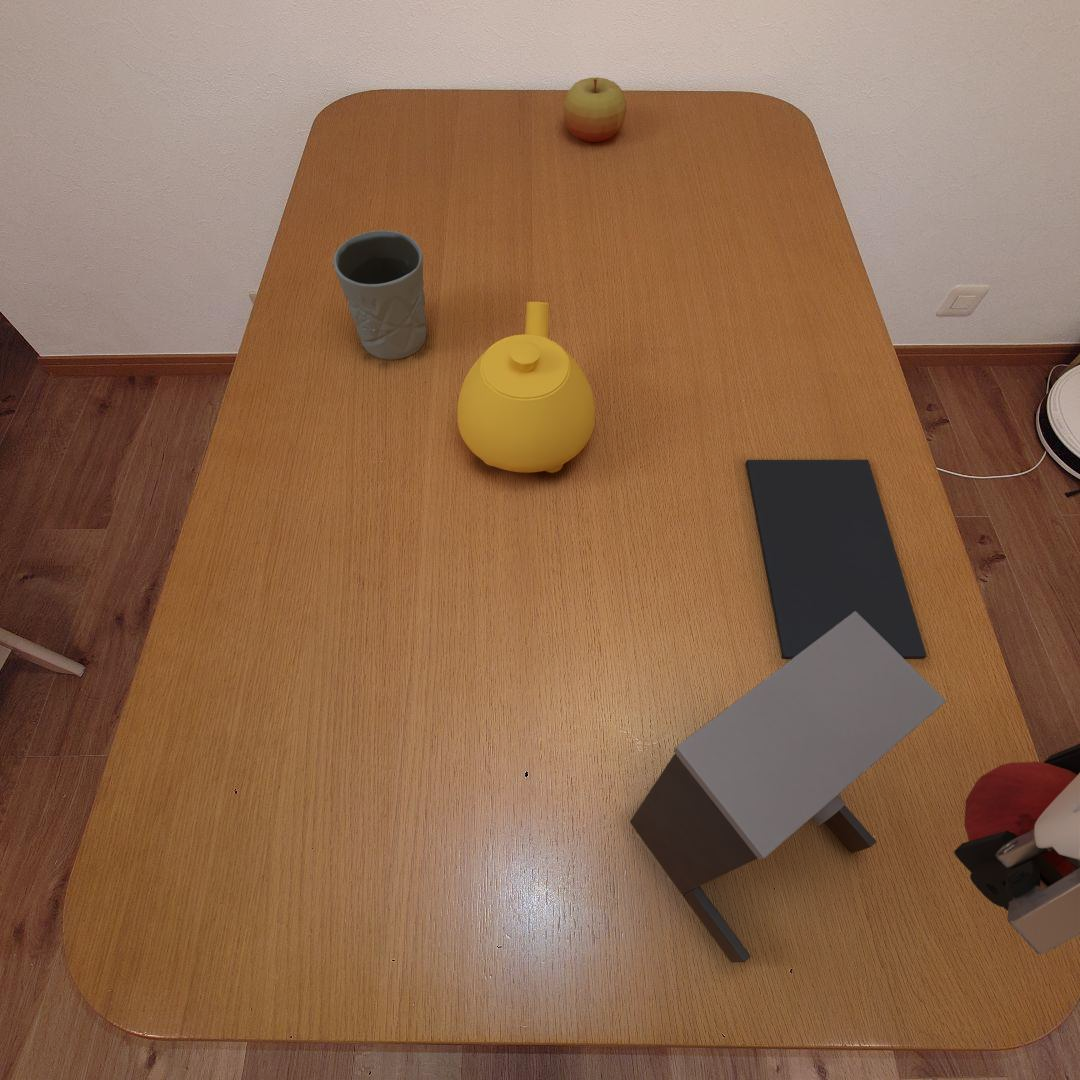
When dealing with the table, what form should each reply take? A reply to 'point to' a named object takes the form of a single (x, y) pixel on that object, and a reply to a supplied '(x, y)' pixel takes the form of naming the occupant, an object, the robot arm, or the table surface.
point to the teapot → (526, 401)
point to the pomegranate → (1016, 802)
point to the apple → (594, 109)
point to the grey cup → (384, 291)
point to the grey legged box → (781, 763)
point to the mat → (829, 552)
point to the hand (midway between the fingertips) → (1031, 831)
